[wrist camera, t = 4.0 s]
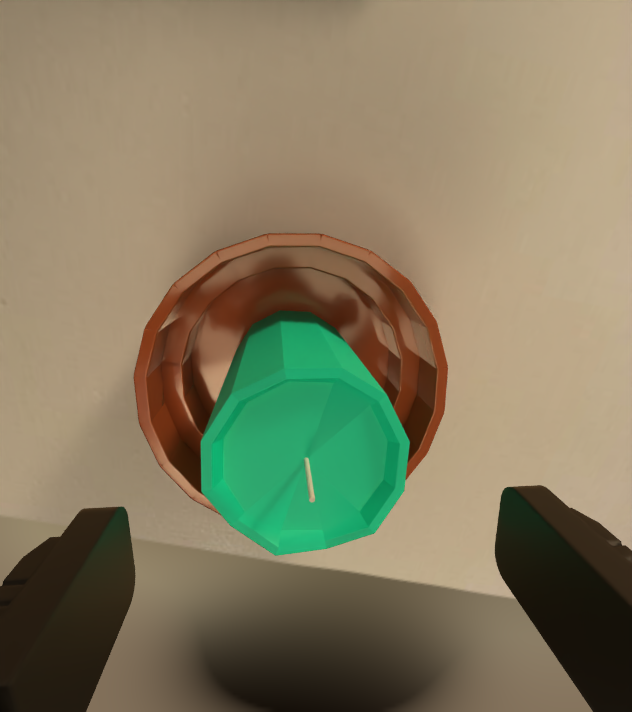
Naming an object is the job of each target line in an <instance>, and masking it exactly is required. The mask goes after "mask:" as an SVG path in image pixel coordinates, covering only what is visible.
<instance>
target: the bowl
mask: <svg viewBox="0 0 632 712" xmlns="http://www.w3.org/2000/svg"><path fill="white" fill-rule="evenodd" d="M280 310H282V311H302V312H311V313H313V314H314V315H316V316H317V317H319V318H321V319H322V320H324V321H325V322H327V323H328V324H330V325H331V326H333V327H334V328H336V330H337V331H338V332H339V333H340V335H341V336H342V337H343V339H344V340H345V341H346V342H347V344H348V345H349V346H350V348H351V349H352V350H353V352H354V353H355V354H356V355H357V357H358V358H359V359H360V361H361V362H362V363H363V364H364V366H365V367H366V368H367V370H368V371H369V372H370V374H371V375H372V376H373V377H374V379H375V380H376V381H377V383H378V384H379V385H380V386H381V388H382V389H383V390H384V392H385V393H386V394H387V396H388V398H389V400H390V402H391V404H392V406H393V408H394V410H395V412H396V414H397V416H398V418H399V420H400V423H401V425H402V427H403V429H404V431H405V433H406V435H407V437H408V439H409V441H410V445H409V454H408V462H407V471H406V479H407V478H408V477H409V475H410V474H411V473H412V472H413V470H414V469H415V468H416V467H417V466H418V464H419V463H420V462H421V461H422V459H423V458H424V457H425V456H426V455H427V453H428V451H429V448H430V446H431V443H432V441H433V438H434V436H435V434H436V431H437V429H438V426H439V424H440V421H441V419H442V417H443V414H444V410H445V398H446V385H447V373H448V365H447V361H446V357H445V353H444V349H443V345H442V341H441V337H440V333H439V329H438V325H437V323H436V320H435V318H434V317H433V315H432V314H431V312H430V311H429V309H428V307H427V306H426V304H425V303H424V301H423V300H422V298H421V297H420V295H419V294H418V292H417V290H416V289H415V287H414V286H413V284H412V283H411V282H410V281H409V280H408V279H407V278H405V277H404V276H403V275H402V274H400V273H399V272H398V271H397V270H395V269H394V268H393V267H391V266H390V265H389V264H388V263H386V262H385V261H384V260H382V259H381V258H380V257H379V256H377V255H376V254H375V253H373V252H372V251H370V250H368V249H365V248H362V247H359V246H356V245H353V244H350V243H347V242H344V241H341V240H339V239H336V238H333V237H330V236H327V235H324V234H296V233H269V234H264V235H261V236H258V237H255V238H252V239H249V240H246V241H243V242H240V243H237V244H234V245H231V246H229V247H226V248H223V249H220V250H217V251H216V252H213V253H212V254H211V255H210V256H208V257H207V258H206V259H204V260H203V261H202V262H201V263H199V264H198V265H197V266H195V267H194V268H193V269H191V270H190V271H189V272H188V273H186V274H185V275H184V276H182V277H181V278H180V279H179V280H177V281H176V282H175V283H174V284H173V285H172V286H171V288H170V289H169V291H168V292H167V294H166V295H165V297H164V299H163V300H162V302H161V303H160V305H159V306H158V308H157V309H156V311H155V312H154V314H153V316H152V317H151V319H150V320H149V322H148V323H147V325H146V328H145V329H144V333H143V337H142V342H141V346H140V350H139V355H138V359H137V363H136V368H135V372H134V385H135V393H136V402H137V410H138V419H139V424H140V427H141V429H142V431H143V433H144V435H145V437H146V439H147V441H148V443H149V445H150V447H151V449H152V451H153V453H154V455H155V458H156V460H157V462H158V464H159V465H160V467H161V468H162V469H163V470H164V471H165V472H166V473H167V474H168V475H169V476H170V477H171V478H172V479H173V480H174V481H175V482H176V483H177V484H178V486H179V487H180V488H181V489H182V490H183V491H184V492H185V493H186V494H187V495H188V496H189V497H190V498H191V499H193V500H194V501H196V502H198V503H200V504H202V505H204V506H205V507H207V508H209V509H211V510H213V511H215V512H216V513H218V514H220V513H219V512H218V511H217V509H216V508H215V507H214V506H213V505H212V504H211V502H210V501H209V500H208V499H207V498H206V497H205V495H204V494H203V493H202V492H201V440H202V437H203V434H204V432H205V429H206V427H207V424H208V422H209V419H210V416H211V414H212V411H213V409H214V406H215V404H216V401H217V398H218V396H219V393H220V391H221V388H222V386H223V383H224V380H225V378H226V375H227V373H228V370H229V368H230V365H231V362H232V360H233V357H234V355H235V352H236V350H237V348H238V346H239V345H240V343H241V342H242V340H243V339H244V337H245V335H246V334H247V332H248V331H249V329H250V327H251V326H252V324H254V323H256V322H258V321H260V320H262V319H264V318H266V317H268V316H270V315H272V314H274V313H276V312H278V311H280ZM406 479H405V480H406ZM220 515H221V514H220Z"/></svg>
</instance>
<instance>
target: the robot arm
mask: <svg viewBox="0 0 632 712" xmlns="http://www.w3.org/2000/svg"><path fill="white" fill-rule="evenodd" d="M495 558H496V563H497V566H498V569H499V572H500V574H501V576H502V578H503V580H504V581H505V583H506V584H507V586H508V587H509V589H510V590H511V592H512V593H513V595H514V596H515V598H516V599H517V600H518V602H519V603H520V605H521V606H522V608H523V609H524V611H525V612H526V614H527V615H528V616H529V618H530V620H531V621H532V622H533V624H534V625H535V627H536V628H537V630H538V631H539V633H540V634H541V636H542V637H543V639H544V640H545V642H546V643H547V644H548V646H549V647H550V649H551V650H552V652H553V653H554V655H555V656H556V658H557V659H558V661H559V662H560V664H561V665H562V666H563V668H564V669H565V671H566V672H567V674H568V675H569V677H570V678H571V680H572V681H573V683H574V684H575V686H576V687H577V688H578V690H579V691H580V693H581V694H582V696H583V697H584V699H585V700H586V702H587V703H588V705H589V706H590V708H591V709H592V711H593V712H632V551H631V550H630V549H629V548H628V547H627V546H626V545H625V546H622V544H621V541H620V540H619V539H617V538H616V537H615V536H614V535H613V534H611V533H610V532H609V531H608V530H607V529H606V528H604V527H603V526H602V525H601V524H600V523H598V522H596V521H595V520H593V519H591V518H589V517H587V516H586V515H584V514H582V513H580V512H578V511H576V510H575V509H573V508H569V507H568V506H567V505H566V504H564V503H563V502H562V501H561V500H560V499H559V498H558V497H557V496H555V495H554V494H553V493H552V492H551V491H550V490H549V489H547V488H546V487H544V486H541V485H537V486H518V487H507V488H505V489H504V490H503V492H502V495H501V502H500V510H499V518H498V526H497V534H496V542H495ZM134 586H135V565H134V559H133V551H132V543H131V536H130V528H129V521H128V514H127V511H126V509H125V508H124V507H106V508H88V509H82V510H81V511H80V512H79V513H78V514H77V515H76V517H75V518H74V519H73V521H72V522H71V523H70V525H69V526H68V527H67V529H66V530H65V531H64V533H63V534H62V536H61V537H50V538H49V539H47V540H46V541H45V542H43V543H42V544H41V545H39V546H38V547H36V548H35V549H34V550H32V551H31V552H30V553H28V554H27V555H26V556H24V557H23V558H22V559H21V560H20V561H19V563H18V564H17V565H16V566H15V567H14V569H13V570H12V571H11V572H10V574H9V575H8V576H7V577H6V578H5V580H4V581H3V585H2V586H0V712H86V710H87V708H88V706H89V703H90V701H91V698H92V696H93V693H94V691H95V689H96V686H97V684H98V681H99V679H100V676H101V674H102V672H103V669H104V667H105V665H106V662H107V660H108V657H109V655H110V652H111V650H112V647H113V645H114V643H115V640H116V638H117V636H118V633H119V631H120V628H121V626H122V623H123V621H124V619H125V616H126V614H127V612H128V609H129V607H130V604H131V601H132V597H133V592H134Z"/></svg>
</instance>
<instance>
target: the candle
mask: <svg viewBox="0 0 632 712" xmlns="http://www.w3.org/2000/svg"><path fill="white" fill-rule="evenodd" d="M409 445H410V441H409V439H408V437H407V435H406V433H405V431H404V429H403V427H402V425H401V423H400V420H399V418H398V416H397V414H396V412H395V410H394V408H393V406H392V404H391V402H390V400H389V398H388V396H387V394H386V393H385V392H384V390H383V389H382V388H381V386H380V385H379V384H378V383H377V381H376V380H375V379H374V377H373V376H372V375H371V374H370V372H369V371H368V370H367V368H366V367H365V366H364V364H363V363H362V362H361V361H360V359H359V358H358V357H357V355H356V354H355V353H354V352H353V350H352V349H351V348H350V346H349V345H348V344H347V342H346V341H345V340H344V339H343V337H342V336H341V335H340V333H339V332H338V331H337V330H336V328H334V327H333V326H331V325H330V324H328V323H327V322H325V321H324V320H322V319H321V318H319V317H317V316H316V315H314V314H313V313H311V312H302V311H282V310H280V311H278V312H276V313H274V314H272V315H270V316H268V317H266V318H264V319H262V320H260V321H258V322H256V323H254V324H252V326H251V327H250V329H249V331H248V332H247V334H246V335H245V337H244V339H243V340H242V342H241V343H240V345H239V346H238V348H237V350H236V352H235V355H234V357H233V360H232V362H231V365H230V368H229V370H228V373H227V375H226V378H225V380H224V383H223V386H222V388H221V391H220V393H219V396H218V398H217V401H216V404H215V406H214V409H213V411H212V414H211V416H210V419H209V422H208V424H207V427H206V429H205V432H204V434H203V437H202V440H201V492H202V493H203V494H204V495H205V497H206V498H207V499H208V500H209V501H210V502H211V504H212V505H213V506H214V507H215V508H216V509H217V511H218V512H219V513H220V514H221V515H222V516H223V518H224V519H225V520H226V521H227V522H228V523H229V525H230V526H232V527H233V528H235V529H236V530H238V531H239V532H241V533H242V534H244V535H245V536H247V537H248V538H250V539H251V540H253V541H254V542H256V543H257V544H259V545H260V546H262V547H263V548H265V549H266V550H268V551H269V552H271V553H272V554H274V555H275V556H277V555H284V554H291V553H299V552H306V551H314V550H321V549H327V548H331V547H334V546H337V545H340V544H343V543H346V542H349V541H352V540H355V539H358V538H362V537H365V536H368V535H371V534H374V533H375V532H376V531H377V529H378V528H379V526H380V525H381V523H382V522H383V521H384V519H385V518H386V516H387V515H388V513H389V512H390V510H391V509H392V508H393V506H394V505H395V503H396V502H397V500H398V499H399V498H400V496H401V495H402V493H403V492H404V488H405V479H406V471H407V462H408V454H409Z"/></svg>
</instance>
